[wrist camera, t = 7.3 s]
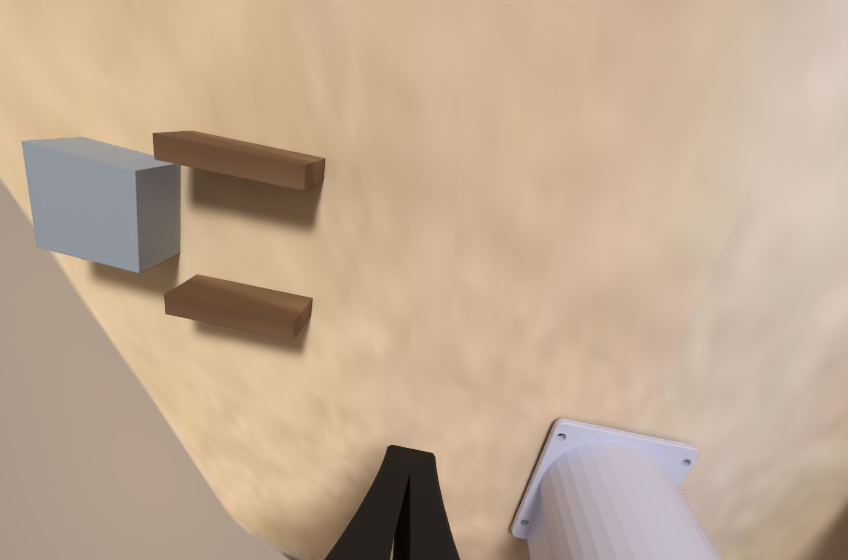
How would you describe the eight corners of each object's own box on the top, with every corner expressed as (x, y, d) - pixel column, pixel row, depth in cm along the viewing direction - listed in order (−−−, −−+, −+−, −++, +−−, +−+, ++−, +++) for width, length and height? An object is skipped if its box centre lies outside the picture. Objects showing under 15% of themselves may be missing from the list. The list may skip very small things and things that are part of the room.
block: (182, 251, 20) (139, 273, 17) (94, 228, 20) (37, 247, 17) (183, 162, 18) (135, 170, 16) (87, 136, 18) (21, 140, 16)
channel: (310, 315, 21) (292, 340, 18) (197, 291, 21) (165, 313, 18) (325, 158, 18) (305, 165, 15) (192, 130, 18) (152, 133, 15)
